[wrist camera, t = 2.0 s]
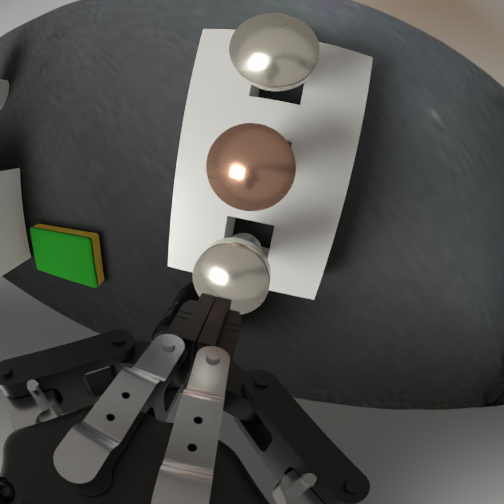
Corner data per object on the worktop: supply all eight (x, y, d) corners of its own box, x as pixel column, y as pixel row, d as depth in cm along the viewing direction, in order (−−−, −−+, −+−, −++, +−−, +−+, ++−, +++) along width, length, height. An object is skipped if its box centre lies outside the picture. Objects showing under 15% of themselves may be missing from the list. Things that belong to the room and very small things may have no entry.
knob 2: (316, 51, 15) (324, 21, 10) (305, 108, 17) (311, 93, 12) (251, 40, 15) (238, 9, 10) (239, 96, 17) (221, 79, 12)
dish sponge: (39, 222, 32) (28, 227, 30) (100, 232, 31) (89, 238, 29) (46, 263, 35) (36, 269, 33) (106, 280, 34) (96, 289, 32)
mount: (358, 71, 20) (372, 57, 16) (310, 275, 29) (314, 299, 24) (217, 46, 21) (203, 28, 16) (185, 247, 30) (167, 266, 25)
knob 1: (280, 227, 21) (276, 256, 16) (267, 282, 22) (260, 321, 17) (219, 214, 21) (196, 238, 16) (211, 269, 23) (190, 304, 18)
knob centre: (300, 136, 18) (304, 132, 13) (286, 199, 20) (285, 219, 15) (234, 124, 18) (213, 117, 13) (223, 187, 20) (200, 202, 15)
